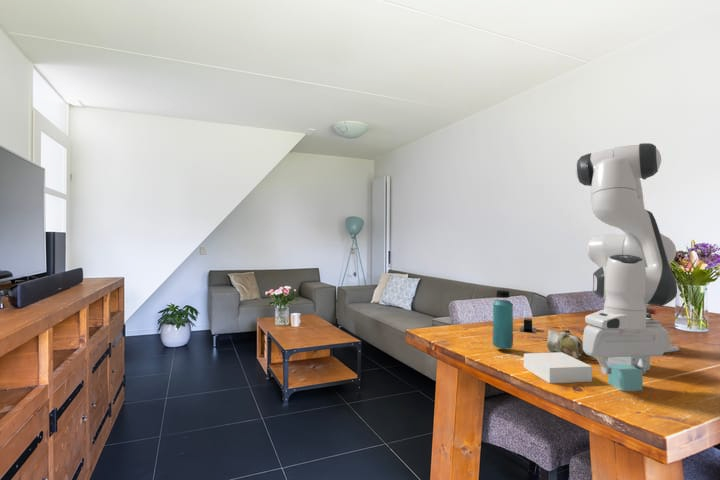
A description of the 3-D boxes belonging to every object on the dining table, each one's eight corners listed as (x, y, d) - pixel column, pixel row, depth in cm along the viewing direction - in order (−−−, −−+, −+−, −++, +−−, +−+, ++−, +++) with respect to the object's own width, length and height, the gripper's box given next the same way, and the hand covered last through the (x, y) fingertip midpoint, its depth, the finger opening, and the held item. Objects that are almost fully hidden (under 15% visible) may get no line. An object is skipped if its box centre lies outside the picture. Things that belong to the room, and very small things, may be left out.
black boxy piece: (538, 336, 146) (538, 323, 146) (516, 333, 150) (516, 321, 150) (538, 328, 158) (538, 316, 158) (518, 326, 162) (518, 315, 162)
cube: (625, 382, 99) (625, 363, 99) (642, 390, 94) (642, 370, 94) (608, 383, 98) (608, 364, 98) (624, 391, 93) (624, 371, 93)
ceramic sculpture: (561, 322, 128) (603, 336, 114) (559, 347, 129) (601, 364, 115) (537, 325, 124) (578, 340, 110) (536, 351, 125) (576, 369, 111)
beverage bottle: (514, 354, 122) (515, 292, 121) (493, 352, 123) (494, 291, 123) (511, 348, 128) (511, 289, 128) (490, 346, 129) (491, 288, 129)
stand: (561, 365, 111) (561, 352, 111) (591, 381, 99) (592, 366, 99) (523, 367, 109) (523, 353, 109) (549, 383, 98) (549, 368, 98)
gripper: (650, 316, 100) (648, 368, 100) (579, 316, 98) (577, 369, 98) (672, 321, 94) (671, 376, 94) (597, 321, 91) (595, 378, 91)
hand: (623, 373), depth 96 cm, fingers open, 8 cm apart
